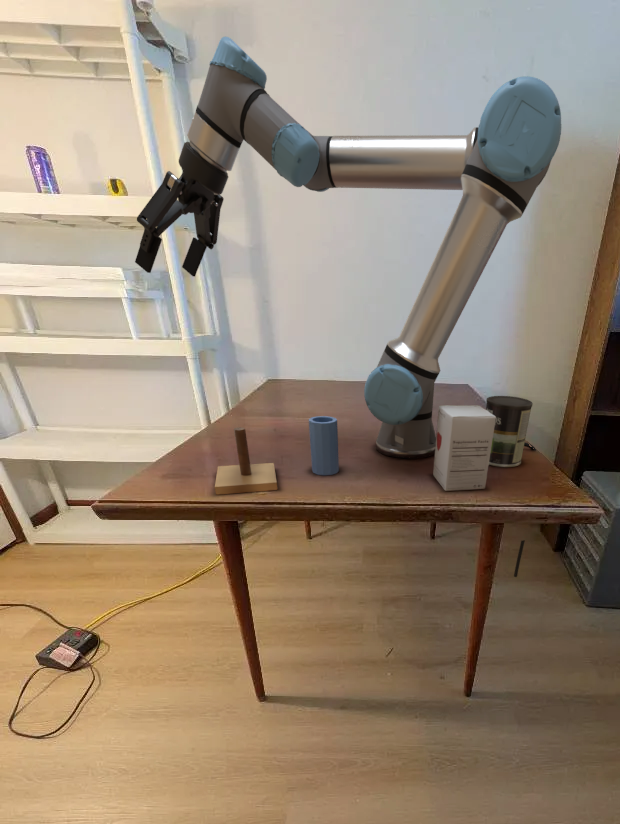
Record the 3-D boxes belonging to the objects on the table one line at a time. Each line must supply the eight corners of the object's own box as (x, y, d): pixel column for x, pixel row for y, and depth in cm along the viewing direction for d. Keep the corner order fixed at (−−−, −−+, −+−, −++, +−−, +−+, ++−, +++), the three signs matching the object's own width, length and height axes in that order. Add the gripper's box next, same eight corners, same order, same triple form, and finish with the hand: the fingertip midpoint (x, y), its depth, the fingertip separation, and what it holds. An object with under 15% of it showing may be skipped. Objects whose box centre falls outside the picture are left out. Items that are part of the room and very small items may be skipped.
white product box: (431, 475, 93) (437, 404, 85) (470, 473, 94) (479, 404, 87) (444, 491, 85) (451, 415, 77) (486, 489, 87) (497, 415, 79)
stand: (274, 469, 91) (268, 420, 86) (277, 489, 82) (271, 435, 77) (219, 473, 88) (209, 422, 83) (216, 494, 79) (205, 438, 74)
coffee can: (493, 469, 97) (502, 406, 90) (470, 455, 106) (478, 396, 99) (530, 465, 101) (542, 404, 94) (506, 451, 109) (515, 394, 102)
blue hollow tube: (336, 465, 95) (334, 415, 90) (340, 474, 91) (339, 422, 85) (310, 467, 94) (307, 416, 88) (314, 476, 89) (310, 423, 83)
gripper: (229, 160, 85) (189, 261, 95) (137, 112, 63) (100, 249, 73) (260, 189, 86) (218, 285, 96) (181, 152, 64) (138, 280, 75)
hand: (167, 270), depth 85 cm, fingers open, 13 cm apart
